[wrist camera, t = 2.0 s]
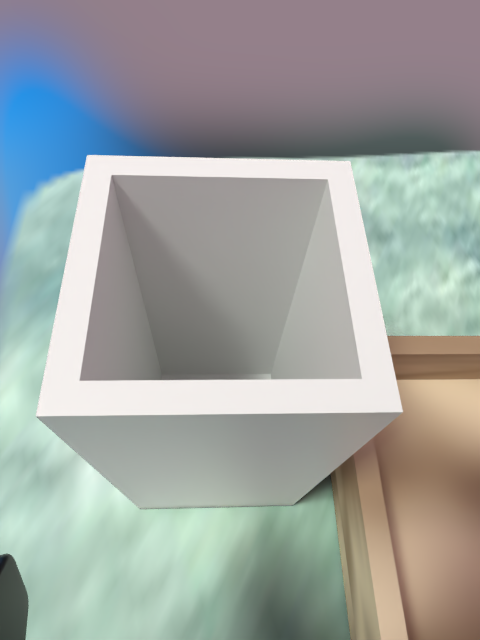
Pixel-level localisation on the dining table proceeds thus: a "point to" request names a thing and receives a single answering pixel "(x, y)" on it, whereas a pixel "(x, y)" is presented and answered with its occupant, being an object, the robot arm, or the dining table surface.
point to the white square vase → (217, 330)
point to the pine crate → (417, 501)
